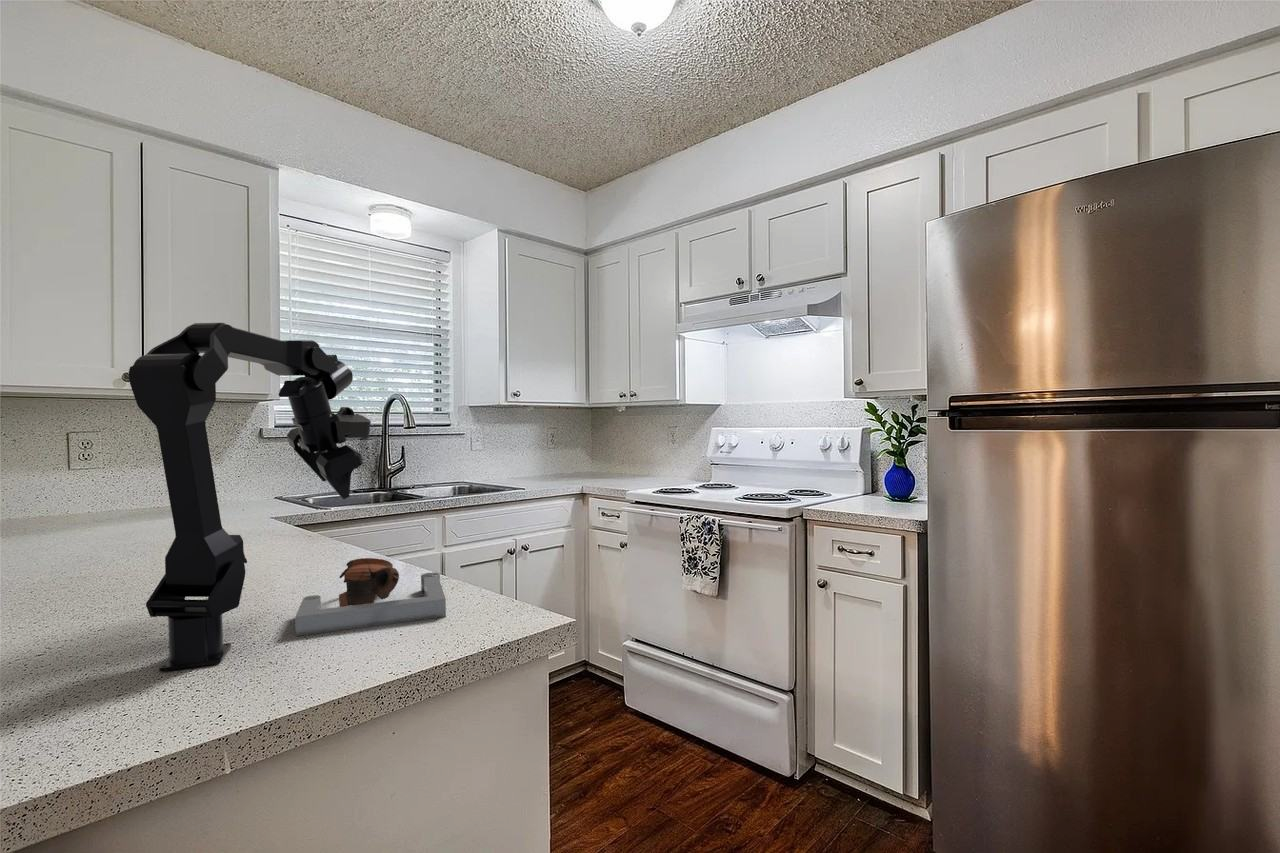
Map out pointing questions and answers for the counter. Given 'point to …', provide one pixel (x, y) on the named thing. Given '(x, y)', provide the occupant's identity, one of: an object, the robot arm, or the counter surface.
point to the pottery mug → (367, 581)
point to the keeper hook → (372, 610)
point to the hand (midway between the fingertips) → (335, 488)
